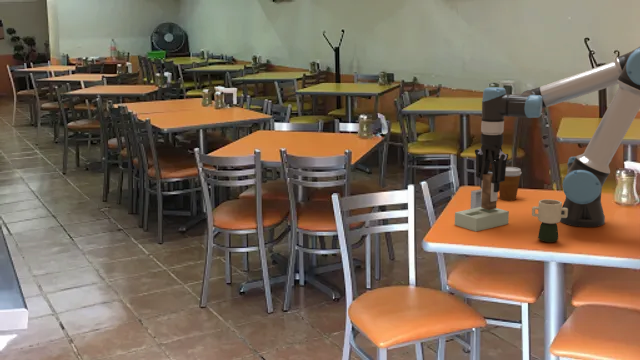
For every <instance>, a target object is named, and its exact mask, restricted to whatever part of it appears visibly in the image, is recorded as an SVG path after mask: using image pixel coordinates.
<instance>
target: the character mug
mask: <svg viewBox="0 0 640 360" xmlns="http://www.w3.org/2000/svg"><path fill="white" fill-rule="evenodd" d="M562 206H563V202H562V201H560V200H557V199H550V198H549V199H546V198H545V199H540V200H539V201H538V206H532V208H531V217H536V218H537V219H538V222H541V223H540V225H539V231H538V235H537V239H539V240H540V241H543V242H545V243H546V242H547V243H553V242H557V241H559V229H558V228H559V227H558V224H557V223H560V222H561V221H560V220H561V218H567V216H568V208H562ZM536 210H538V211H537V213H536ZM561 211H565V213H564V215H561Z"/></svg>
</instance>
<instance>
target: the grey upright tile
mask: <svg viewBox="0 0 640 360" xmlns="http://www.w3.org/2000/svg"><path fill="white" fill-rule="evenodd" d="M481 204H482V199H481V188H479V189H475V190H471V191H470V209H473V208H478V207H481Z"/></svg>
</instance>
